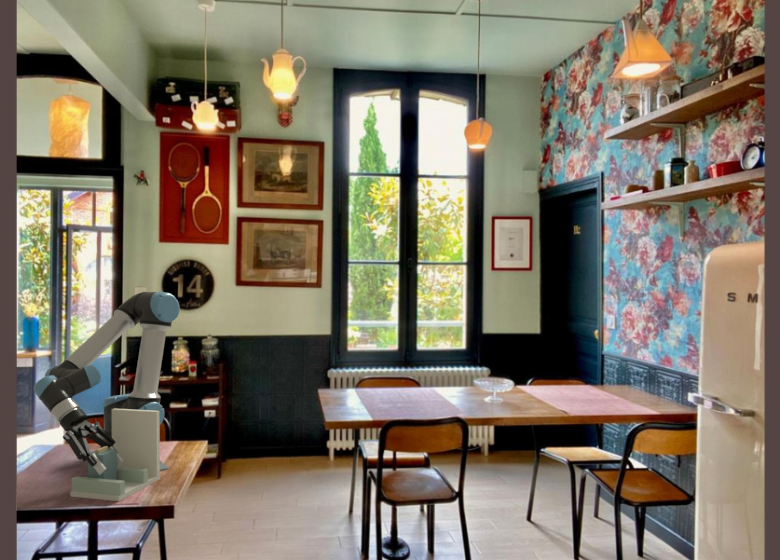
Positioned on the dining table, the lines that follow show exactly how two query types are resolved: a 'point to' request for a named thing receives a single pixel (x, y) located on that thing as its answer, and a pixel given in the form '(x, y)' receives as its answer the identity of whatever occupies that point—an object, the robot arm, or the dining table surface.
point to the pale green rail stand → (127, 457)
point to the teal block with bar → (105, 464)
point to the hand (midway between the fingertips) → (111, 467)
